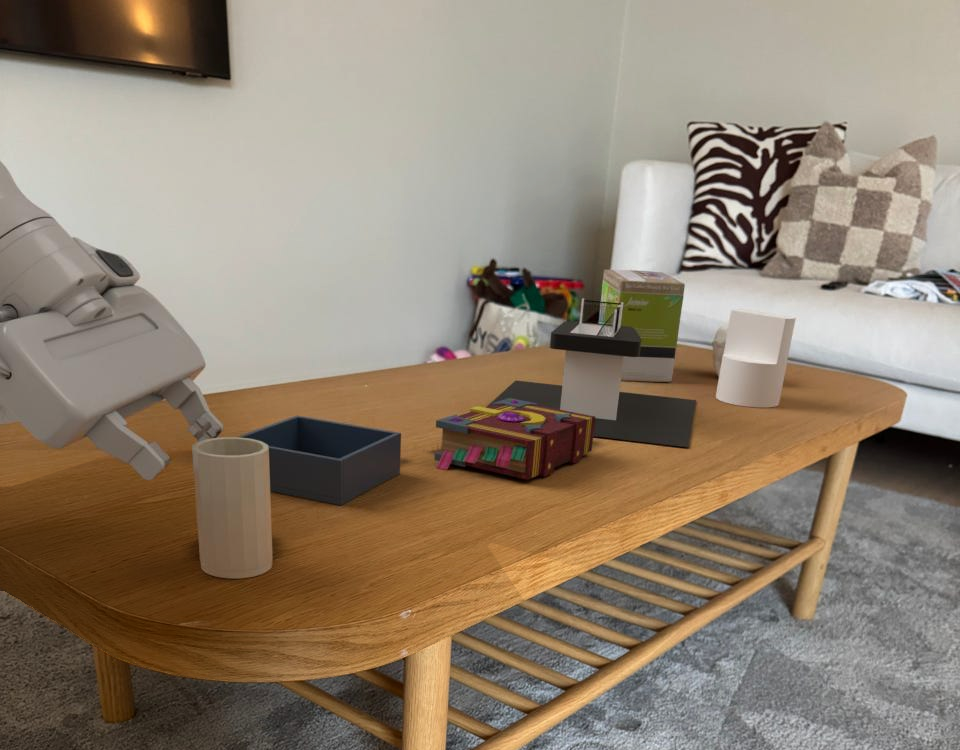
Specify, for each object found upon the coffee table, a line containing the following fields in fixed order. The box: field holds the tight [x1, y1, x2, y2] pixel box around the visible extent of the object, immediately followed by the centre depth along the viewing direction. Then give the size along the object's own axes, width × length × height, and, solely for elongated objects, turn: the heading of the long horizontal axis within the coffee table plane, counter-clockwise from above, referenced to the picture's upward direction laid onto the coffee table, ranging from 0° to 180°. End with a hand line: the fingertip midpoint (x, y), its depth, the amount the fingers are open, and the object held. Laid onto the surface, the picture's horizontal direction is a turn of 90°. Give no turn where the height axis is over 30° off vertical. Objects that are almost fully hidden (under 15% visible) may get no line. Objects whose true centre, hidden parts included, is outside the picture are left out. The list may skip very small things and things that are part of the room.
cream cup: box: [191, 436, 274, 580], centre depth 69 cm, size 5×5×9 cm
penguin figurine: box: [711, 320, 729, 378], centre depth 152 cm, size 6×8×12 cm
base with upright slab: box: [715, 308, 797, 409], centre depth 136 cm, size 9×9×12 cm
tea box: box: [598, 269, 686, 383], centre depth 150 cm, size 15×10×15 cm, turn 3°
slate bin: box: [236, 415, 402, 506], centre depth 91 cm, size 12×12×4 cm
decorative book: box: [434, 398, 595, 481], centre depth 101 cm, size 11×16×5 cm
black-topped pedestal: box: [486, 298, 697, 448], centre depth 123 cm, size 28×26×13 cm
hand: (189, 454), depth 68 cm, fingers open, 8 cm apart
